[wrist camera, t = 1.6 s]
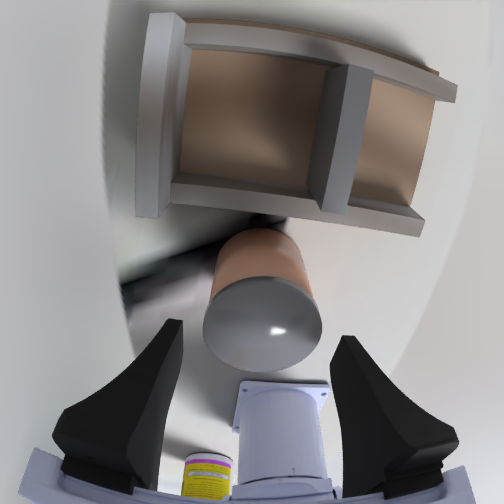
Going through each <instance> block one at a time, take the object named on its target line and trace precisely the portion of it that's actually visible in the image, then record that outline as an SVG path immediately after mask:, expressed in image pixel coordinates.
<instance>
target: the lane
mask: <svg viewBox="0 0 504 504" xmlns="http://www.w3.org/2000/svg"><path fill="white" fill-rule="evenodd" d="M346 64H352V65H356V66H360V67H363V68H367V69H370V70H374V76H373V82H372V88H371V94H370V100H369V106H368V111H367V117H366V122H365V127H364V132H363V137H362V142H361V147H360V152H359V157H358V161H357V166H356V170H355V175H354V179H353V183H352V187H351V192H350V196H349V200H348V204H347V208H346V212H345V215H340V214H334V213H328V212H321V210H320V209H319V207H318V205H317V203H316V201H315V199H314V197H313V195H312V194H311V192H310V190H309V188H308V186H307V185H306V180H307V175H308V169H309V164H310V159H311V153H312V148H313V142H314V137H315V131H316V125H317V119H318V113H319V108H320V102H321V95H322V89H323V83H324V77H325V71H327V70H330V69H333V68H336V67H340V66H343V65H346ZM457 86H458V85H456V84H454V83H452V82H450V81H448V80H445V79H443V78H441V77H439V72H438V71H435V70H433V69H431V68H428V67H426V66H424V65H421V64H419V63H416V62H414V61H411V60H409V59H406V58H403V57H401V56H398V55H395V54H392V53H390V52H387V51H384V50H381V49H378V48H374V47H371V46H368V45H365V44H361V43H358V42H354V41H351V40H347V39H343V38H339V37H335V36H331V35H327V34H322V33H318V32H313V31H308V30H303V29H298V28H292V27H286V26H280V25H273V24H266V23H258V22H248V21H237V20H223V19H198V18H181V17H180V16H178V15H177V14H176V13H175V12H165V13H150V15H149V21H148V27H147V33H146V40H145V47H144V54H143V62H142V71H141V81H140V91H139V103H138V117H137V135H136V166H135V208H136V217H141V218H151V219H158V218H159V217H160V215H161V214H162V213H163V211H164V210H165V208H166V207H167V206H168V204H169V203H175V204H185V205H195V206H204V207H213V208H222V209H231V210H239V211H247V212H255V213H263V214H271V215H279V216H286V217H294V218H301V219H308V220H315V221H322V222H329V223H336V224H342V225H349V226H355V227H361V228H368V229H374V230H380V231H386V232H392V233H398V234H404V235H409V236H415V237H420V235H421V232H422V229H423V226H424V223H425V220H424V219H423V218H422V217H421V216H420V215H419V214H417V213H416V212H415V211H414V210H413V209H412V208H411V207H410V205H411V201H412V198H413V194H414V191H415V187H416V184H417V180H418V176H419V173H420V169H421V165H422V161H423V157H424V152H425V148H426V144H427V139H428V135H429V130H430V125H431V120H432V115H433V109H434V104H435V100H437V101H444V102H451V103H455V99H456V93H457Z"/></svg>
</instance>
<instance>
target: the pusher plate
mask: <svg viewBox="0 0 504 504" xmlns="http://www.w3.org/2000/svg"><path fill="white" fill-rule="evenodd" d="M373 76H374V70H370V69H367V68H363V67H360V66H356V65H352V64H346V65H343V66H340V67H336V68H333V69H330V70H327V71H325V77H324V83H323V89H322V95H321V102H320V108H319V113H318V119H317V125H316V131H315V137H314V142H313V148H312V153H311V159H310V164H309V169H308V175H307V180H306V185H307V186H308V188H309V190H310V192H311V194H312V195H313V197H314V199H315V201H316V203H317V205H318V207H319V209H320V210H321V212H328V213H334V214H340V215H345V212H346V208H347V204H348V200H349V196H350V192H351V187H352V183H353V179H354V175H355V170H356V166H357V161H358V157H359V152H360V147H361V142H362V137H363V132H364V127H365V122H366V117H367V111H368V106H369V100H370V94H371V88H372V82H373Z"/></svg>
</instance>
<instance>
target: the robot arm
mask: <svg viewBox="0 0 504 504" xmlns="http://www.w3.org/2000/svg"><path fill="white" fill-rule="evenodd" d="M182 356H183V320H176V319H168V320H166V322H165V323H164V325H163V326H162V328H161V329H160V331H159V332H158V333H157V335H156V336H155V337H154V338H153V340H152V341H151V342H150V343H149V345H148V346H147V347H146V348H145V349H144V350H143V352H142V353H141V354H140V355H139V356H138V357H137V358H136V359H135V360H134V361H133V362H132V363H131V364H130V365H129V366H128V367H127V368H126V369H125V370H124V371H123V372H122V373H121V374H119V375H118V376H117V377H116V378H115V379H113V380H112V381H111V382H110V383H108V384H107V385H106V386H104V387H103V388H102V389H100V390H99V391H97V392H95V393H94V394H92V395H91V396H89V397H88V398H86V399H84V400H82V401H80V402H78V403H77V404H75V405H73V406H71V407H69V408H67V409H65V410H64V411H63V413H62V414H61V416H60V418H59V419H58V422H57V424H56V427H55V429H54V431H53V434H52V438H53V440H54V441H55V443H56V444H57V445H58V447H59V448H60V449H61V450H62V451H63V452H64V454H65V457H64V460H62V459H60V458H59V457H57V456H54V455H52V454H50V453H47V452H45V451H42V450H40V449H38V448H34V449H33V452H32V454H31V457H30V459H29V462H28V465H27V468H26V470H25V473H24V476H23V479H22V482H21V484H20V487H19V491H18V493H19V495H21V496H23V497H24V498H26V499H27V500H29V501H30V502H32V503H34V504H476V502H475V499H474V495H473V492H472V488H471V485H470V482H469V479H468V476H467V473H466V470H465V467H464V466H460V467H457V468H454V469H451V470H448V471H446V472H444V473H441V468H443V463H442V460H444V459H445V458H446V457H447V456H448V455H450V454H451V453H452V452H453V451H454V450H455V449H456V448H457V447H458V445H459V440H458V437H457V435H456V432H455V430H454V428H453V427H452V426H450V425H448V424H446V423H444V422H442V421H440V420H438V419H436V418H435V417H434V416H432V415H430V414H429V413H427V412H426V411H424V410H423V409H422V408H420V407H419V406H418V405H416V404H415V403H414V402H413V401H412V400H410V399H409V398H408V397H407V396H406V395H405V394H403V392H401V391H400V390H399V389H398V388H397V387H396V386H395V385H394V384H393V383H392V382H391V380H390V379H389V378H388V377H387V376H386V375H385V374H384V373H383V371H382V370H381V369H380V368H379V367H378V365H377V364H376V363H375V362H374V360H373V359H372V358H371V357H370V355H369V354H368V353H367V351H366V350H365V349H364V348H363V346H362V345H361V344H360V342H359V341H358V340H357V339H356V337H355V336H347V335H342V337H341V340H340V342H339V344H338V347H337V349H336V351H335V353H334V356H333V358H332V360H331V362H330V376H331V385H332V389H333V394H334V398H335V403H336V407H337V412H338V416H339V421H340V427H341V435H342V448H343V489H342V488H341V487H339V486H337V487H333V488H332V480H331V478H327V471H326V463H325V455H324V448H323V441H322V434H321V427H320V420H319V411H320V409H321V408H322V406H323V404H324V402H325V400H326V399H327V397H328V395H329V393H330V391H331V387H330V385H325V384H290V383H272V382H258V381H242V382H241V383H240V387H239V393H238V399H237V404H236V410H235V415H234V421H233V426H232V432H233V433H235V434H240V435H239V461H238V485H233V486H232V495H225V496H224V497H223V498H222V499H221V500H220V501H219V500H209V499H201V498H193V497H186V496H179V495H173V494H168V493H162V492H157V486H158V475H159V466H160V457H161V450H162V443H163V436H164V430H165V424H166V418H167V414H168V410H169V406H170V403H171V400H172V396H173V393H174V389H175V386H176V383H177V379H178V376H179V372H180V367H181V362H182Z"/></svg>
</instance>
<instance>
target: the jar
mask: <svg viewBox="0 0 504 504" xmlns="http://www.w3.org/2000/svg"><path fill="white" fill-rule="evenodd" d="M321 334H322V322H321V318H320V314H319V310H318V307H317V304H316V302H315V300H314V299H313V295H312V292H311V288H310V284H309V280H308V277H307V273H306V269H305V266H304V262H303V258H302V255H301V252H300V250H299V248H298V247H297V245H296V244H295V243H294V242H293V240H292V239H290V238H289V237H288V236H286V235H285V234H283V233H281V232H279V231H276V230H273V229H267V228H253V229H248V230H245V231H242V232H240V233H237V234H236V235H234V236H233V237H231V238H230V239H229V240H228V241H227V242H226V243H225V244H224V245H223V247H222V248H221V250H220V252H219V254H218V257H217V262H216V268H215V273H214V278H213V284H212V289H211V295H210V301H209V304H208V306H207V309H206V312H205V317H204V323H203V337H204V341H205V343H206V345H207V347H208V349H209V350H210V351H211V353H212V354H213V355H214V356H215V357H216V358H218V359H219V360H220V361H222V362H223V363H225V364H227V365H229V366H231V367H234V368H237V369H240V370H244V371H250V372H272V371H277V370H282V369H285V368H288V367H290V366H293V365H295V364H297V363H299V362H300V361H302V360H303V359H305V358H306V357H307V356H308V355H309V354H310V353H311V352H312V351H313V350H314V349H315V347H316V346H317V344H318V342H319V340H320V337H321Z"/></svg>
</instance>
